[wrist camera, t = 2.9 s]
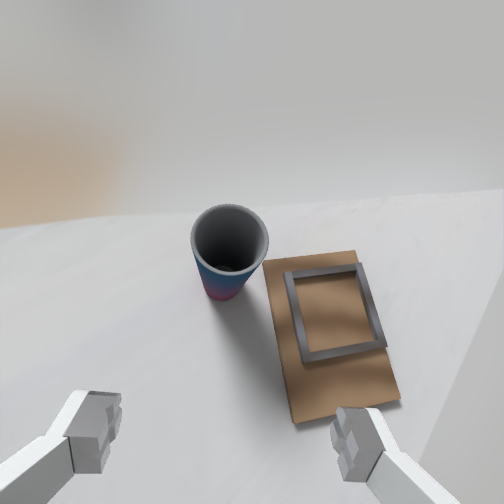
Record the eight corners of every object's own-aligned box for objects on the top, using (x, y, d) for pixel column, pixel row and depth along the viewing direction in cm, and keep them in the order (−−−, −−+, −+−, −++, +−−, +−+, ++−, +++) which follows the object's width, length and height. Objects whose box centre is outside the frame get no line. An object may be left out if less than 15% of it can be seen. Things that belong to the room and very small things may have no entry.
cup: (185, 285, 37) (173, 241, 24) (218, 249, 40) (225, 190, 26) (225, 318, 37) (236, 292, 23) (256, 279, 39) (283, 234, 25)
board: (395, 397, 36) (406, 399, 34) (292, 421, 33) (297, 425, 31) (351, 252, 43) (358, 247, 41) (262, 263, 40) (265, 258, 38)
